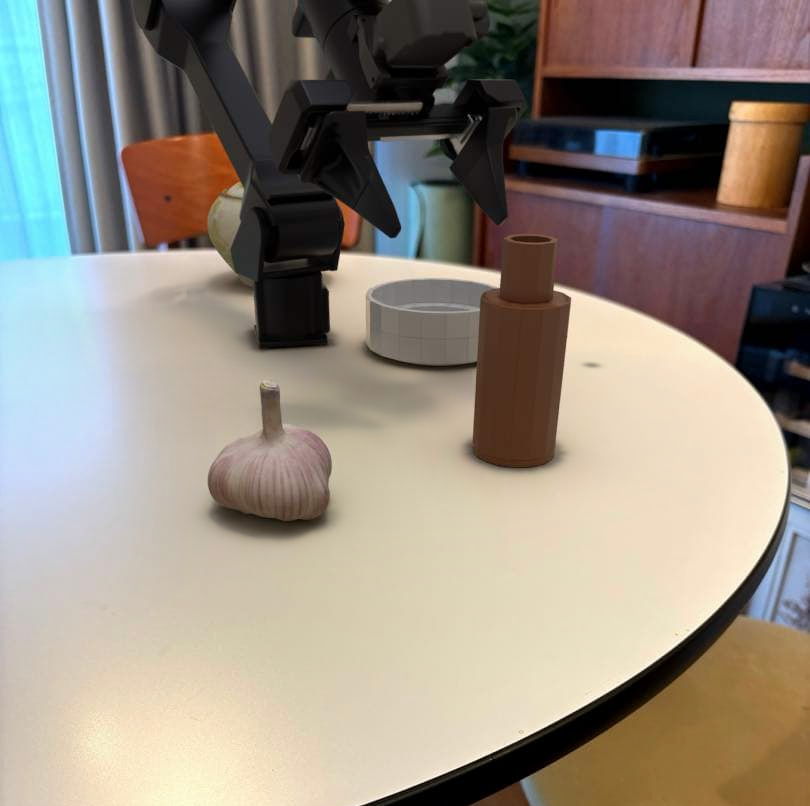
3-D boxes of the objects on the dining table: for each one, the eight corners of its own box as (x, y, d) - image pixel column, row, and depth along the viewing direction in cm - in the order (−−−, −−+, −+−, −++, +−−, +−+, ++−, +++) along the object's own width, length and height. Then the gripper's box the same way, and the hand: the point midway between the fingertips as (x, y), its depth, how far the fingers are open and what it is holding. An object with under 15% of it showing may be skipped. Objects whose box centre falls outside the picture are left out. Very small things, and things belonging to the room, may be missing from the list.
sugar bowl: (345, 299, 93) (341, 153, 85) (209, 303, 91) (193, 154, 83) (331, 263, 110) (326, 138, 102) (216, 265, 108) (203, 138, 100)
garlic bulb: (347, 529, 47) (344, 396, 43) (217, 546, 45) (201, 409, 41) (321, 474, 54) (315, 353, 50) (206, 487, 52) (191, 363, 48)
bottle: (487, 471, 54) (502, 249, 47) (462, 437, 59) (472, 232, 52) (567, 463, 55) (593, 246, 48) (536, 431, 60) (555, 229, 53)
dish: (382, 374, 71) (382, 316, 68) (355, 332, 82) (354, 281, 79) (525, 365, 73) (530, 308, 71) (480, 325, 84) (483, 275, 82)
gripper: (276, -84, 47) (386, 148, 45) (520, -57, 56) (621, 136, 54) (228, 73, 56) (318, 271, 54) (445, 74, 66) (528, 242, 63)
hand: (451, 227), depth 56 cm, fingers open, 9 cm apart
